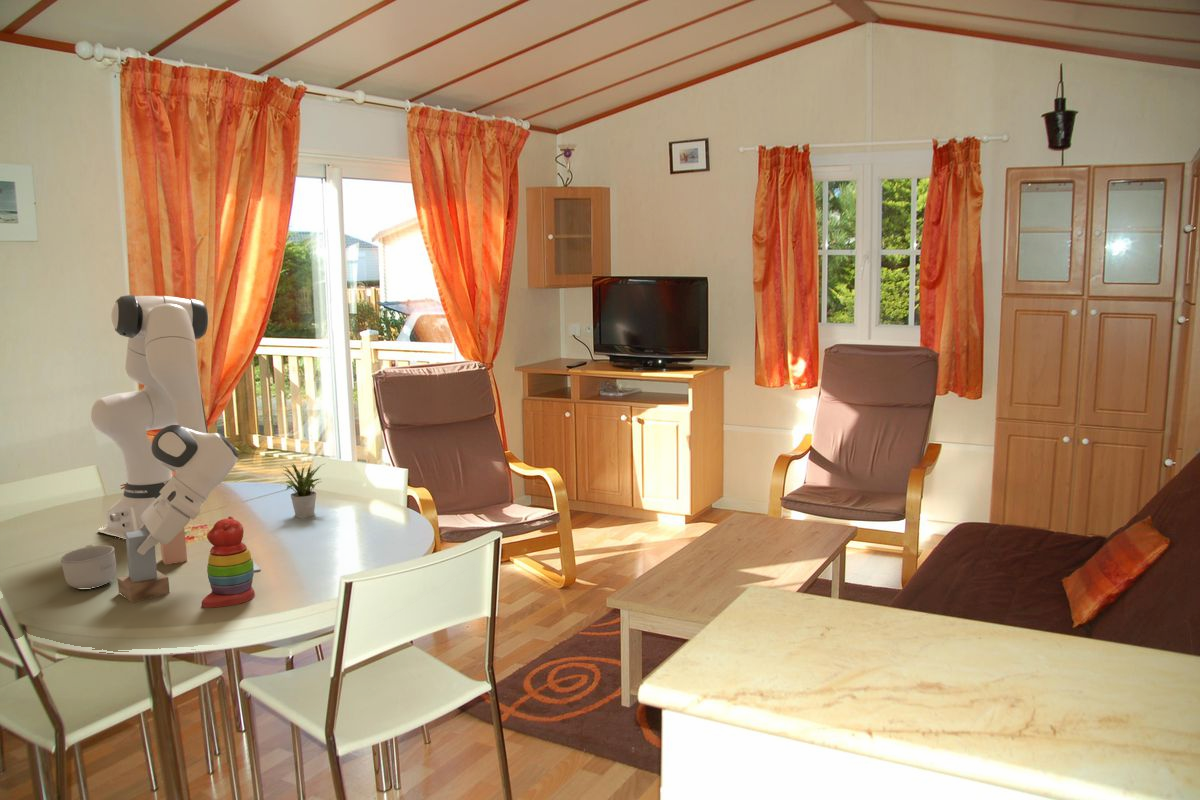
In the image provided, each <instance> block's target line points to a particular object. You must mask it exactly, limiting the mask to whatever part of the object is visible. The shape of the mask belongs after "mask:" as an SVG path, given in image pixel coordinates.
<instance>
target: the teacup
mask: <svg viewBox="0 0 1200 800" xmlns="http://www.w3.org/2000/svg"><path fill="white" fill-rule="evenodd" d="M60 561H61V564H62V565H61V566H62V572H63V575H64V579H65V582H66V583H67V584H68V586H70V587H71V588H75V589H76V588H92V587H97V586H101V585H104V584H106V585H108V584H107V583H108V582H109V583H110V582H111V580H112V579H113V578H114V577H115V575H116V574H117V562H116V561H117V560H116V555H115V547H114V546H112V545H106V544H105V545H104V544H103V545H102V544H101V545H92V544H90V545H86V546H85V547H82V548H77V549H75V550H72V551H69V552H67V553H65V554H63V555H62V556H61V557H60ZM104 586H105V585H104Z"/></svg>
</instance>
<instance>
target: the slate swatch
mask: <svg viewBox="0 0 1200 800" xmlns="http://www.w3.org/2000/svg"><path fill="white" fill-rule="evenodd" d="M253 565H254V567H253V568H254V573H257V572H261V568H260V567H259V566H258V564H256V563H255V562H253Z"/></svg>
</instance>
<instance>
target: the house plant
mask: <svg viewBox="0 0 1200 800" xmlns="http://www.w3.org/2000/svg"><path fill="white" fill-rule="evenodd" d="M305 460H306V459H304V461H303V463H302V464H304V463H305ZM325 464H326V463H323V464H320V465H319V466H318V467H316V469H315V468H314V469H313V470H311V468H312V467H311V466H312V465H311V463H309V466H308V468H307V472H306V476H304V470H305V468H306V466H304V465H302V467H301V472H300V471H299V470H298V469H297V466H296V464H295V463H293V462H291V463H290V466H291V467H292V469H293V470H294V472H295V476H296V477H295V476H294V474H293V473H292V472H291V471H290V469H289V468H288V467H286V466H285V465H282V464H280V467H283V468H285V469H284V471H285V472H287V473H288V474H289V475H290V476H291V477H292V478H293V480H294V481H295V482H294V481H293V480H292V478H291V477H290V476H289V475H288V474H287V473H284V472H282V474H283V475H285V476H286V477H287V478H288V479H289V480H286V481H285V482H284V483H285V484H284V485H285V486H287V487H286V489H285V491H287V490H289V489H292V490H293V491H294V492H293V493H291V494H290V498H291V503H292V506H293V511H294V515H295V517H297V516H298V517H297V518H306V517H305V516H308V517H311V515H312V516H314V515H315V507H316V498H317V492H316V491H313V490H314V489H315V486H316V485H317V484H319V483H322V481H321V480H320V478H316V479H315V478H314V479H313V477H314V475H315V474H316V472H317V471H319V469H320V468H321V467H322V466H323V465H325ZM319 480H320V481H319ZM317 481H318V482H317ZM315 482H316V483H315ZM314 483H315V484H314ZM281 485H282V484H280V486H281ZM313 514H314V515H313Z"/></svg>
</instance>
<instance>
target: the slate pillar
mask: <svg viewBox="0 0 1200 800" xmlns="http://www.w3.org/2000/svg"><path fill="white" fill-rule="evenodd" d="M125 534H126V540H125V545H126V556H127V569H128V575H129V577H130V579H131V581H132V582H138V581H144V580H149V579H155V578H157V571H158V570H157V558H156V545H154V546H153V547H151V548H150V549H149V550H148V551H147V552H146V553H145V554H144V555H142V554H140V553H139V552H137V547H138V546H139V545H140V544H141V543H143V542H144V541H145V540H146V539H147V537H148V536H149V535H150V532H149V531H148V529H147V530H140V531H134V532H127V533H125Z"/></svg>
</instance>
